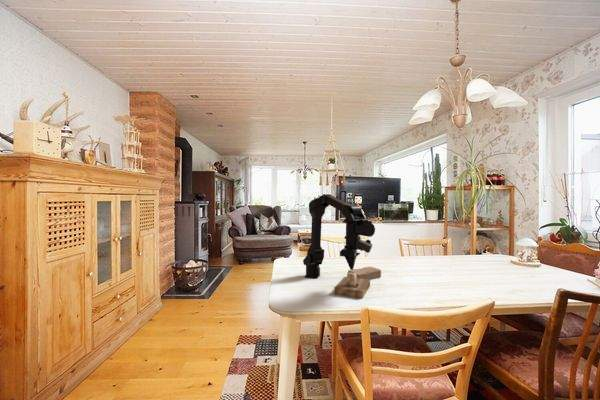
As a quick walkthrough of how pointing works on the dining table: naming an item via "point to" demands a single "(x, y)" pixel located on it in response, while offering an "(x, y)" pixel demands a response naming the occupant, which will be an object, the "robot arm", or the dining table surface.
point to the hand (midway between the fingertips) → (351, 269)
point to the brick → (366, 273)
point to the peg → (351, 280)
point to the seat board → (352, 288)
